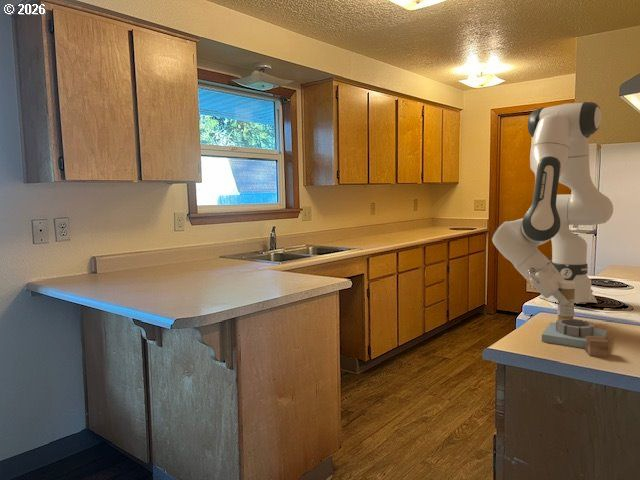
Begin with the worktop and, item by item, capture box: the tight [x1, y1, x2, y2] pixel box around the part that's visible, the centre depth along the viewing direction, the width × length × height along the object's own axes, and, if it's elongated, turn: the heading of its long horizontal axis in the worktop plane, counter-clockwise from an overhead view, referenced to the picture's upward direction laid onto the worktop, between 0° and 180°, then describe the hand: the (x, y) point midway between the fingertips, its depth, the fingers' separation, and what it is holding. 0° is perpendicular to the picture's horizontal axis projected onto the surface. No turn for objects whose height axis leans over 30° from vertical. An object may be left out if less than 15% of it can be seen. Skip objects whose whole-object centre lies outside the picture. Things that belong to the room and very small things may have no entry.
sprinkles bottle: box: [557, 281, 576, 320], centre depth 139 cm, size 5×5×14 cm
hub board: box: [541, 318, 608, 349], centre depth 127 cm, size 14×14×4 cm
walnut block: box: [584, 336, 610, 358], centre depth 116 cm, size 4×4×4 cm
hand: (568, 301), depth 139 cm, fingers closed on sprinkles bottle, 4 cm apart
